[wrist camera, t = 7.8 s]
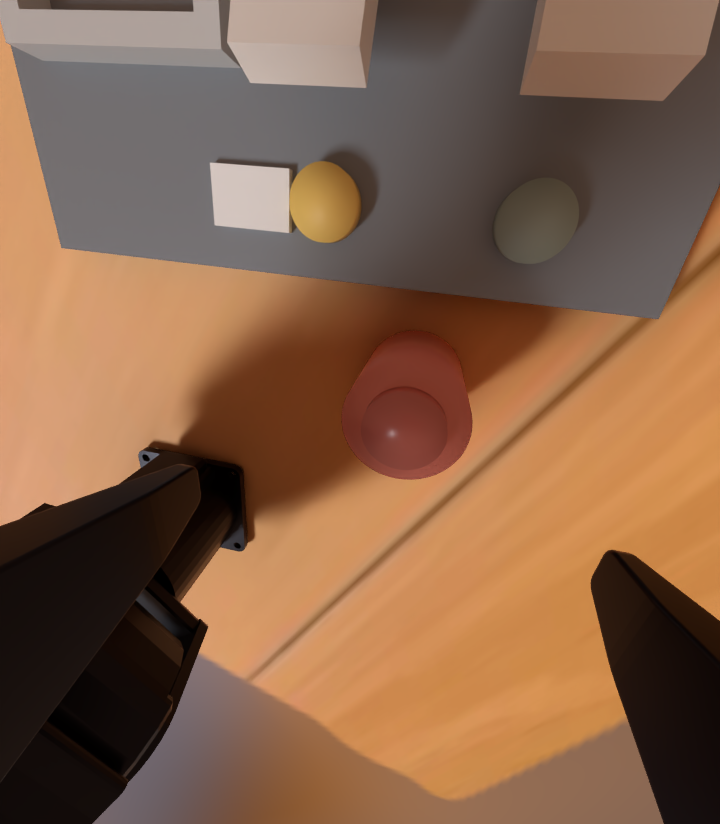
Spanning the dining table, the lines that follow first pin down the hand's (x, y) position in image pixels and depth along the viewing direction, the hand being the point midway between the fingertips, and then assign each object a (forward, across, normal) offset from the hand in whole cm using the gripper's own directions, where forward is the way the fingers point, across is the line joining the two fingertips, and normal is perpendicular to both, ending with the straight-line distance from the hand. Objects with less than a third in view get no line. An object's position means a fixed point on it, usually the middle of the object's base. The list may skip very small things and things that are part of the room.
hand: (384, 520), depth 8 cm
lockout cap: (+10, 0, 0) cm, 10 cm away
